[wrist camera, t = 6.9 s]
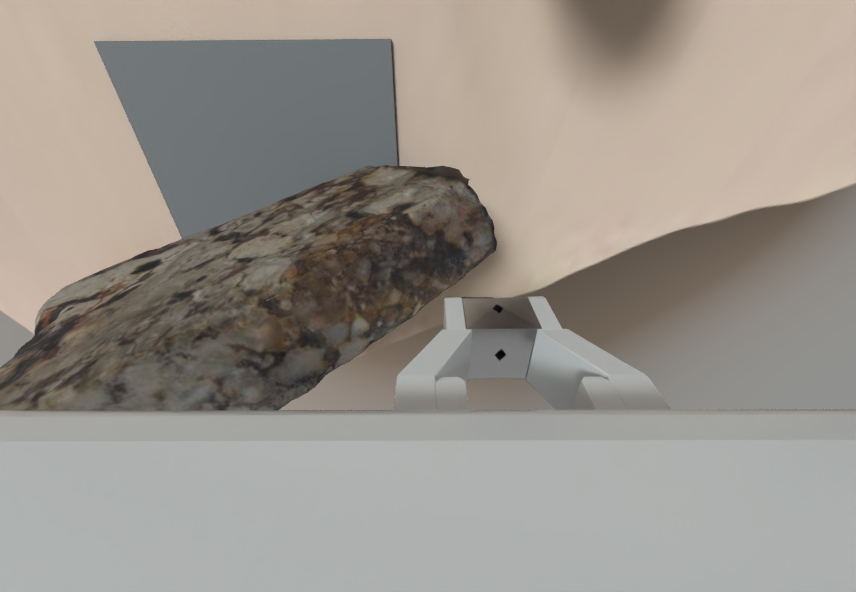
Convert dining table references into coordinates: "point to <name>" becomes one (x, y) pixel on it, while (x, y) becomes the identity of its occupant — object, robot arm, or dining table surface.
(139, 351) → the stone block
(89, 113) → the dining table surface
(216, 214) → the mat
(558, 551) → the robot arm
